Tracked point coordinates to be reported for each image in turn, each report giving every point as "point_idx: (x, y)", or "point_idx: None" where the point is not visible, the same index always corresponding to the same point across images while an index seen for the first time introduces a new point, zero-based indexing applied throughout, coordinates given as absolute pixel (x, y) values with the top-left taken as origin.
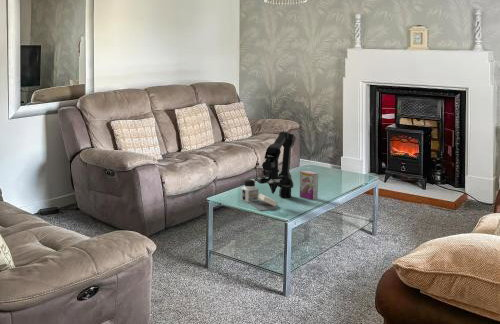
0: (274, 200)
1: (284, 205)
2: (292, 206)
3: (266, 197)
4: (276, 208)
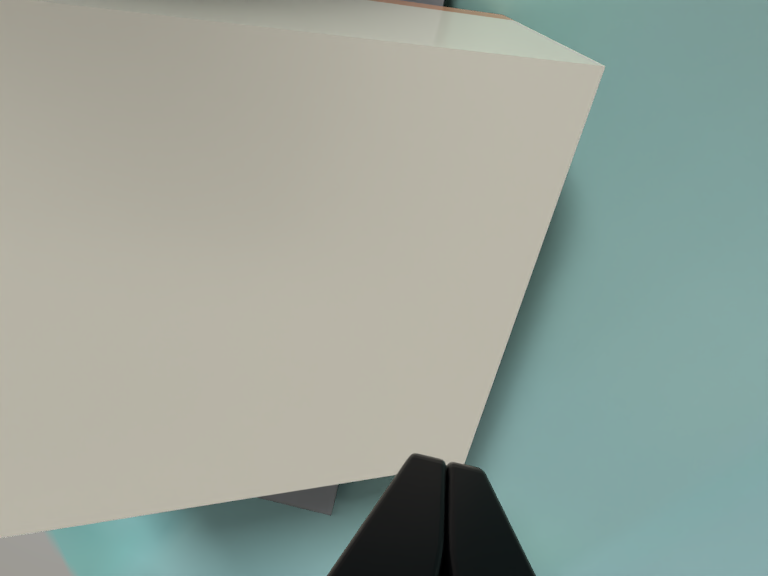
0: (514, 302)
1: (684, 409)
2: (758, 546)
3: (26, 523)
4: (319, 510)
